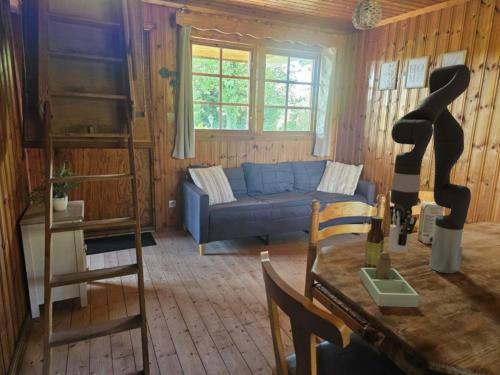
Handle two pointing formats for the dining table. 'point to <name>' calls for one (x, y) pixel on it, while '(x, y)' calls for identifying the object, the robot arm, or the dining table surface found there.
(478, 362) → the dining table surface
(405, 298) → the caddy
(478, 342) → the dining table surface
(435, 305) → the dining table surface
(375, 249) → the sauce bottle
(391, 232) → the eye dropper bottle
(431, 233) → the juice carton
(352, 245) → the dining table surface
